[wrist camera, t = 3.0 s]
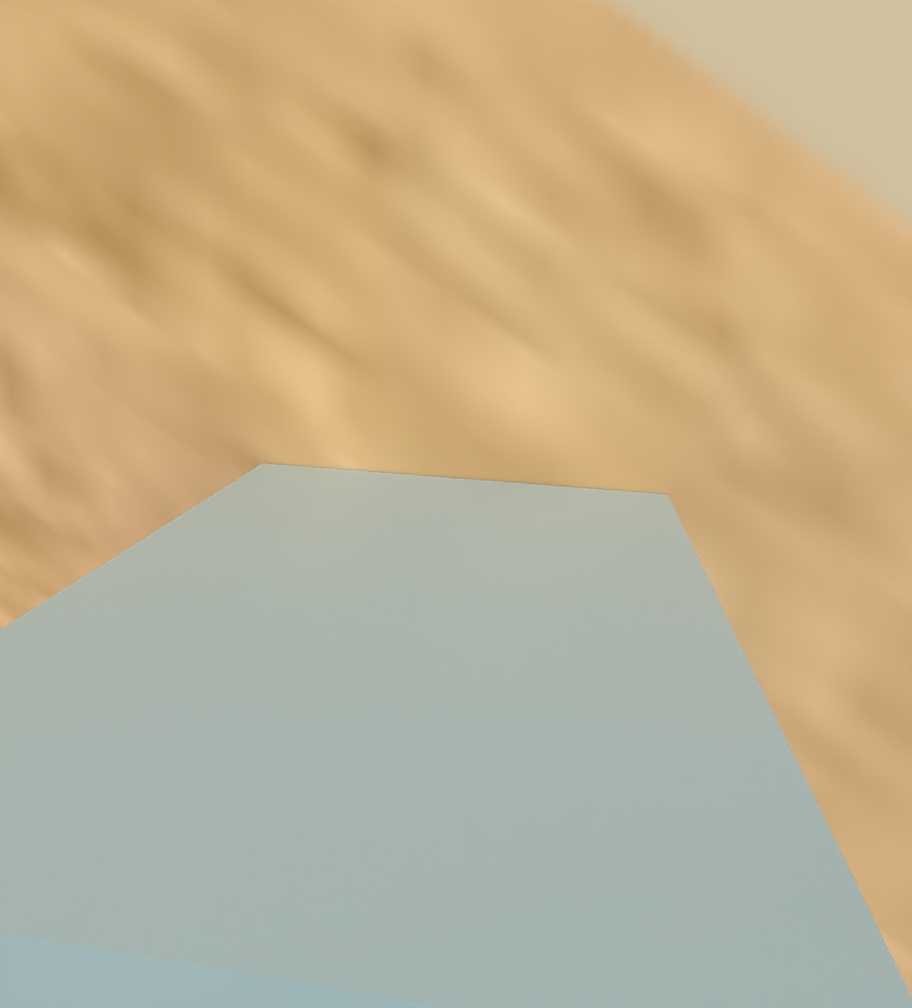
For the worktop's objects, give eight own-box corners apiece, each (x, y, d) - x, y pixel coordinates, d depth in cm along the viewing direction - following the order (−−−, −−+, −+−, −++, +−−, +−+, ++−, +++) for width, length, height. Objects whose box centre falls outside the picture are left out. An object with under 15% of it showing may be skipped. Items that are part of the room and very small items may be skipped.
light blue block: (667, 494, 11) (957, 1091, 3) (603, 959, 14) (660, 1891, 6) (261, 463, 12) (-378, 869, 4) (282, 910, 15) (-53, 1676, 7)
